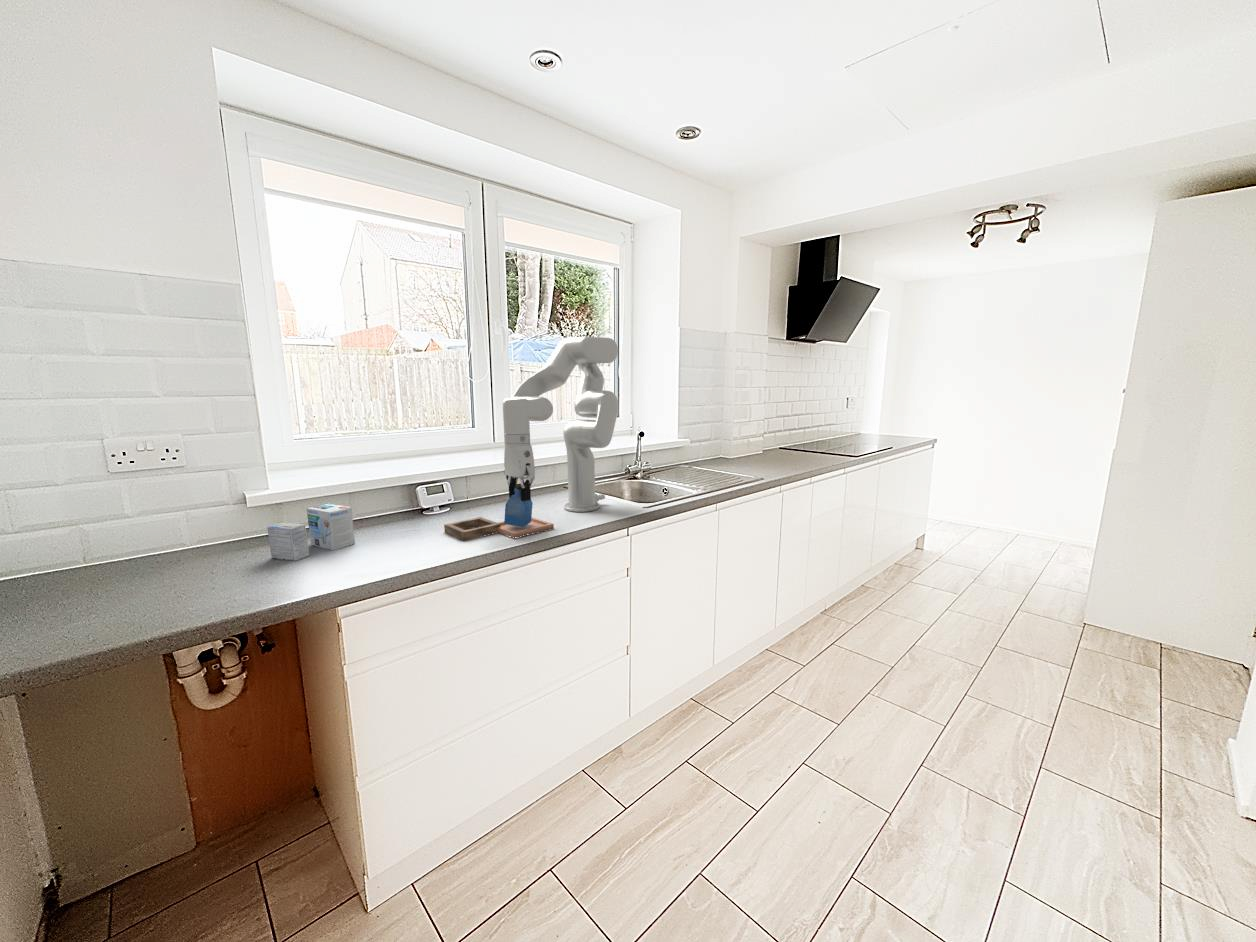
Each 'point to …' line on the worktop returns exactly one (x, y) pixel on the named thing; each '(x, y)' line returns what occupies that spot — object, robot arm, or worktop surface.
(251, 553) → the worktop surface
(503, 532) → the dish
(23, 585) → the worktop surface
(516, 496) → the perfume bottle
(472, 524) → the socket block
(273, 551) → the medicine box
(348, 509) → the light bulb box
